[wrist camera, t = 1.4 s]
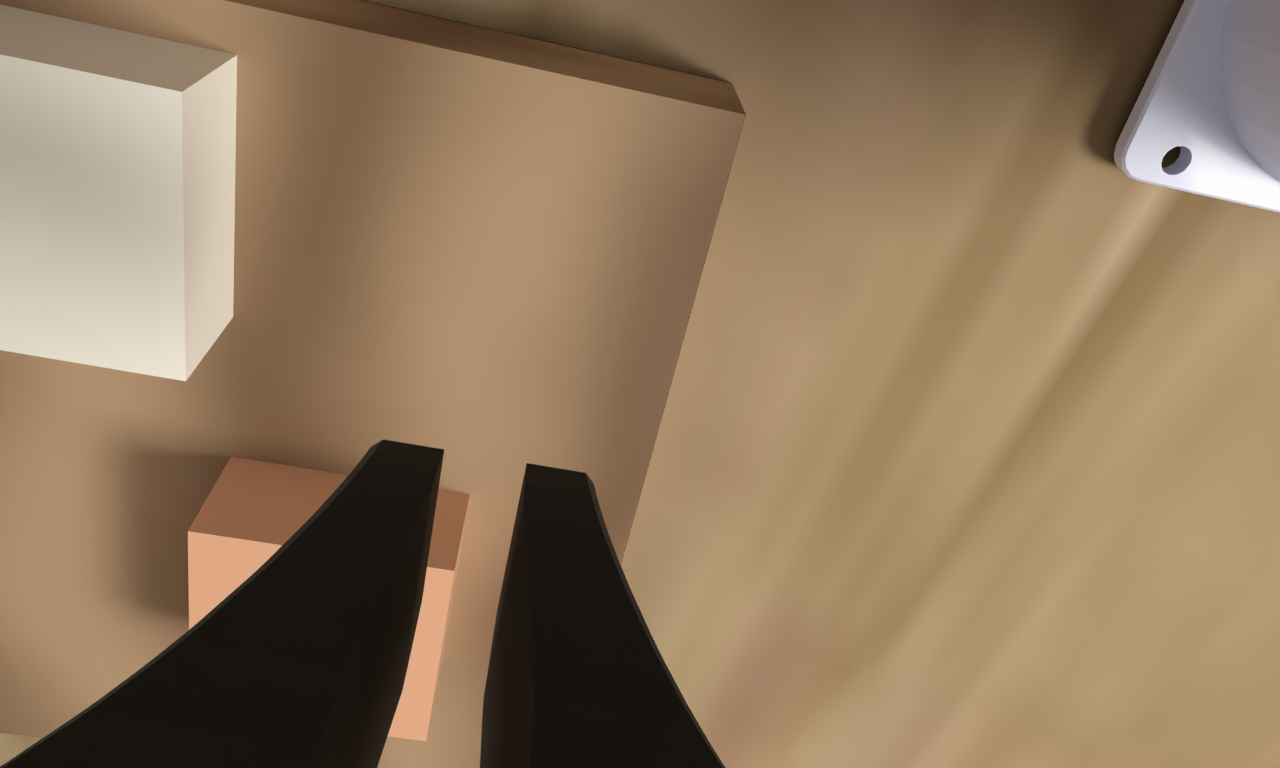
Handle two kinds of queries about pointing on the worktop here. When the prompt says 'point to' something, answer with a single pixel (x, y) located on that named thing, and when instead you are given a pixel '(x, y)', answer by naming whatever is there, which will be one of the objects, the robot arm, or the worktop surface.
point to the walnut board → (372, 323)
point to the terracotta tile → (270, 514)
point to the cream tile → (114, 195)
